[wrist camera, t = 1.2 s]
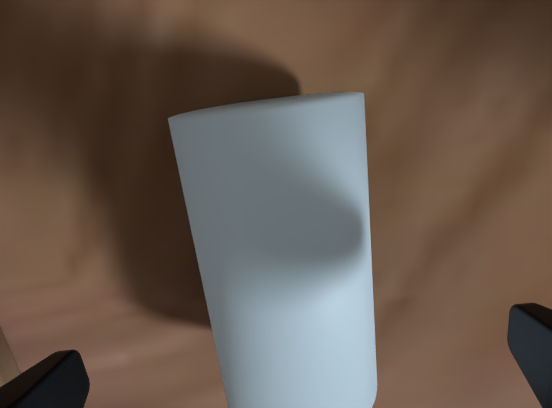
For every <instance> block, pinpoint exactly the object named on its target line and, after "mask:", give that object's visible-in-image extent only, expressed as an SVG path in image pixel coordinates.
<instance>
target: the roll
mask: <svg viewBox="0 0 552 408" xmlns="http://www.w3.org/2000/svg"><path fill="white" fill-rule="evenodd" d="M168 122H169V127H170V132H171V137H172V141H173V146H174V151H175V156H176V161H177V165H178V170H179V175H180V180H181V184H182V189H183V194H184V199H185V203H186V208H187V213H188V218H189V222H190V227H191V232H192V237H193V241H194V246H195V251H196V256H197V260H198V265H199V270H200V275H201V280H202V284H203V289H204V294H205V299H206V303H207V308H208V313H209V318H210V322H211V327H212V332H213V337H214V341H215V346H216V351H217V356H218V360H219V365H220V370H221V375H222V379H223V384H224V389H225V394H226V399H227V403H228V406H229V408H372V406H373V404H374V401H375V398H376V393H377V371H376V349H375V326H374V304H373V282H372V260H371V238H370V215H369V193H368V171H367V149H366V127H365V104H364V93H360V92H334V93H319V94H307V95H297V96H288V97H280V98H272V99H264V100H256V101H248V102H241V103H234V104H228V105H222V106H216V107H210V108H205V109H200V110H195V111H190V112H186V113H182V114H178V115H175V116H172V117H170V118H168Z"/></svg>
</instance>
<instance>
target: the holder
mask: <svg viewBox="0 0 552 408" xmlns="http://www.w3.org/2000/svg"><path fill="white" fill-rule="evenodd" d="M18 375H20V373H19V370H18V368H17V366H16V363H15V361H14V359H13V356H12V354H11V351H10V349H9V347H8V344H7V342H6V340H5V337H4V335H3V333H2V330H1V328H0V387H1V386H3V385H4V384H6V383H7V382H9V381H11V380H12V379H14V378H15V377H17V376H18Z"/></svg>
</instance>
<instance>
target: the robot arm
mask: <svg viewBox="0 0 552 408" xmlns="http://www.w3.org/2000/svg"><path fill="white" fill-rule="evenodd" d="M507 340H508V346H509V349H510V351H511V353H512V355H513V356H514V358H515V360H516V362H517V363H518V365H519V367H520V369H521V371H522V372H523V374H524V376H525V378H526V379H527V381H528V383H529V385H530V386H531V388H532V390H533V392H534V394H535V395H536V397H537V399H538V401H539V402H540V404H541V406H542V408H552V310H551V309H549V308H546V307H544V306H541V305H539V304H536V303H524V304H515V305H513V306H512V307H511V309H510V313H509V324H508V336H507ZM89 386H90V383H89V378H88V375H87V372H86V369H85V366H84V364H83V361H82V358H81V355H80V353H79V352H78V351H76V350H65V351H58V352H55V353H53V354H51V355H50V356H48V357H47V358H45V359H44V360H42V361H40V362H39V363H37V364H36V365H34V366H33V367H31V368H29V369H28V370H26V371H25V372H23V373H22V374H20V375H18V376H17V377H15V378H14V379H12V380H11V381H9V382H7V383H6V384H4V385H3V386H1V387H0V408H83V407H84V404H85V402H86V399H87V396H88V392H89Z"/></svg>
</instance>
